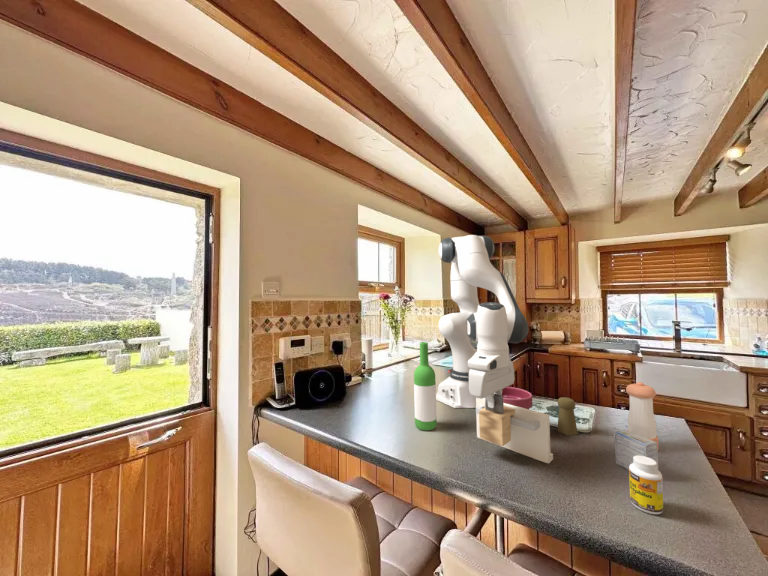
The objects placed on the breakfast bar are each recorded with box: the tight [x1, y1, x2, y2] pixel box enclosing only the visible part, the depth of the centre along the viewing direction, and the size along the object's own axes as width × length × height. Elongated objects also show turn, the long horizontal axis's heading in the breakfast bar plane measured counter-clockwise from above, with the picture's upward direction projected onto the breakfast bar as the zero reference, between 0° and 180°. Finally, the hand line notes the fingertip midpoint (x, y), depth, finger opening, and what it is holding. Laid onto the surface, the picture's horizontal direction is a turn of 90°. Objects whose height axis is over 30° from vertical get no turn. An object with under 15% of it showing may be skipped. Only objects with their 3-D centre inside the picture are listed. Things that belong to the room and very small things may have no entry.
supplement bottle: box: [628, 455, 664, 515], centre depth 67 cm, size 6×6×10 cm
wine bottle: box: [413, 341, 438, 431], centre depth 110 cm, size 8×8×30 cm
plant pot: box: [502, 386, 533, 410], centre depth 106 cm, size 14×14×13 cm
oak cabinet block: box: [479, 394, 515, 447], centre depth 90 cm, size 7×8×13 cm
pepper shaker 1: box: [556, 396, 579, 436], centre depth 104 cm, size 6×6×11 cm
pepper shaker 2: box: [625, 381, 660, 451], centre depth 93 cm, size 7×7×19 cm
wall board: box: [475, 398, 554, 465], centre depth 92 cm, size 22×7×13 cm, turn 42°
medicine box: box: [614, 429, 660, 471], centre depth 81 cm, size 8×4×9 cm, turn 17°
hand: (494, 405), depth 89 cm, fingers closed on oak cabinet block
